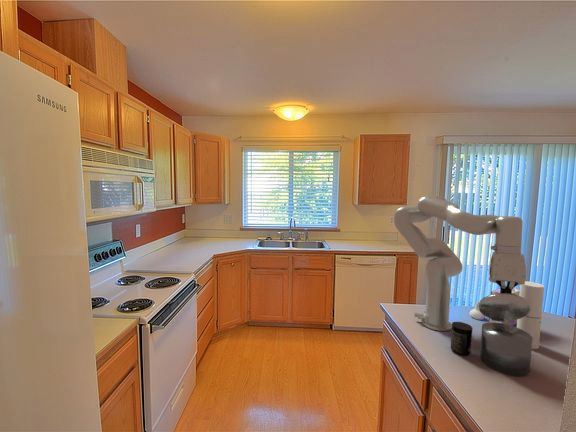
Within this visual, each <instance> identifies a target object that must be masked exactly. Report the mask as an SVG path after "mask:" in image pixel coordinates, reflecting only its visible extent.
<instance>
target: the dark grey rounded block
mask: <svg viewBox="0 0 576 432" xmlns="http://www.w3.org/2000/svg"><path fill="white" fill-rule="evenodd" d="M480 337H481V338H480V347H479V348H480V351H479V358H480V361H481V362H482V363H483V364H484V365H485V366H487V367H488V368H490V369H491V370H494V371H495V372H498V373H499V374H504V375H506V376H511V377H514V378H515V377H517V378H524V377H527V376H529V375H530V372H531V362H532V350H533V349H532V336H531V335H530V334H528V333H527V332H525V331H523V330H521V329H519V328H517V326H510V325H507V324H502V323H494V322H489V321H488V322H484V323H482V325H481V336H480Z"/></svg>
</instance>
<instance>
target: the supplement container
mask: <svg viewBox="0 0 576 432" xmlns="http://www.w3.org/2000/svg"><path fill="white" fill-rule="evenodd" d="M451 324H452V329H451V334H450V335H451V336H450V350H451V351H452V352H453V354H456V355H458V356H462V357H468V356H470V355H471V354H472V343H473V341H472V340H473V326H472V325H471V324H468V323H466V322H461V321H454V322H451Z"/></svg>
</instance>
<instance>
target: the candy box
mask: <svg viewBox="0 0 576 432" xmlns="http://www.w3.org/2000/svg"><path fill="white" fill-rule="evenodd" d="M497 293H500V288H499V289H493V290H491V291H490V295H492V294H497ZM519 293H520V288H519V289H518V288H515V287H514V288H513V289H512V294H515V295H518V296H519ZM488 322H494V323H502V324H507V325H510V326H514V327H517V320H511V321H505V322H500V321H492V320H491V318H488Z"/></svg>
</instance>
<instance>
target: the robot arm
mask: <svg viewBox="0 0 576 432" xmlns="http://www.w3.org/2000/svg"><path fill="white" fill-rule="evenodd" d="M432 218H437V219H439V220H442V221H444V222H446V223H448V224H449V225H450V226H451V227H453V228H455V229H457V230H460V231H462V232H464V233H468V234H470V235H475V236H482V235H491V234H493V235H494V234H495V240H494V242H495V243H494V245H491V246H490V250H493V252H492V255H491V257H490V261H489V269H488V272H489V273H488V275H489V276H488V277H489V278H488V281H489V282H491V283H494V284H497V285H498V286H499V287H500V288H499V289H500V293H509V294H512V289H513V288H515V287H517V286H520V285H523V284H525V281H527V267H526V259H525V255H524V254H522V240H523V238H522V237H523V220H522V218H521V217H519V216H506V215H503V216H501V215H500V216H499V215H493V214H478V215H477V214H473V213H469V212H467V211H464V210H461V209H459V205H458V204H457V203H454V202H451V201H448V200H447V199H446V198H445V197H443V196H441V195H424V196H423V197H420V199H418V201H417V205H412V206H409V205H408V206H402V207H400V208H398V209H397V210H396V211H395V212H394V216H393V222H394V226H395V228H396V230H397V231H398V232H399V234H400V235H401V236H402V237H403V238H404V240H405V241H406V242H407V243H408V245H409V246H410V248H412V249H411V250H413V251H414V253H415V254H416V256H418V257H419V258H420V259H424V260H427V259H429V260H428V261H427V262H426V265H425V269H424V270H425V276H426V295H425V296H426V297H425V298H426V299H425V311H423V312H421V313H419V312H414V318H417V319H418V320H421V324H422V325H423V326H424V327H426V328H428V329H430V330H433V331H439V332H449V331H452V322H450V304H451V302H450V301H451V284H450V282H449V279H450V278H451V277H457V276H458V275H460V274H461V273H462V272H463V264H462V261H461V260H460V258H459V256H457V254H456V253H455V252H454V251H453V250H452V249H451V247H450V246H448V244H447V243H446V242H445V241H444V240H443V239H441V238H438V237H428V236H427V235H426V234H424V232H423V231H422V230H421V229H420V228H419V227H418V226H417V225H415V223H423V222H426V221H427V220H430V219H432Z"/></svg>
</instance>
